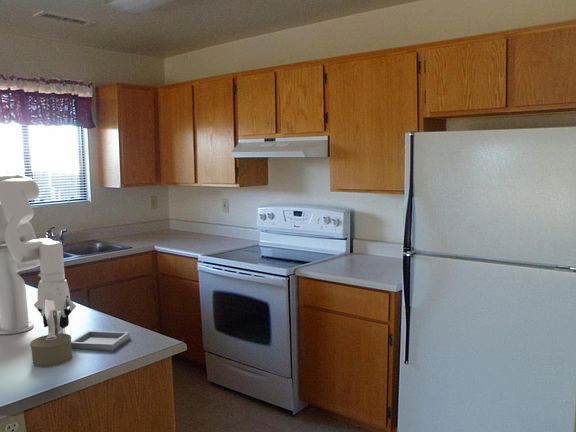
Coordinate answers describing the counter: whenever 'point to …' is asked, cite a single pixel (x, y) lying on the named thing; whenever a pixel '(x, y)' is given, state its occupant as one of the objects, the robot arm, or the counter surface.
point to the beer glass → (53, 318)
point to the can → (51, 350)
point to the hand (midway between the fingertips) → (56, 326)
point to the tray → (100, 340)
